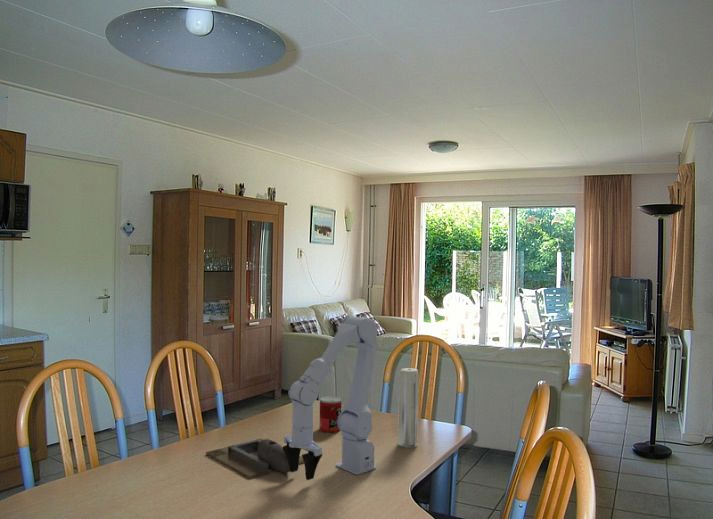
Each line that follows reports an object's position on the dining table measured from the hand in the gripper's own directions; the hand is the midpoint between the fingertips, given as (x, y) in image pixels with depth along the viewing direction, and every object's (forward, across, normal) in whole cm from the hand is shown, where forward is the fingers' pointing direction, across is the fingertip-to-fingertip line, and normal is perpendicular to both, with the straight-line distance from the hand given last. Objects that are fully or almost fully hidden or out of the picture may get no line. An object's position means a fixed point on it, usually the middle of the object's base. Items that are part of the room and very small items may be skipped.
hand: (301, 475), depth 154 cm
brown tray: (+2, -23, 0) cm, 23 cm away
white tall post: (+2, -1, +45) cm, 45 cm away
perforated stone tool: (+2, -12, 0) cm, 12 cm away
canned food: (+2, -30, +36) cm, 47 cm away
